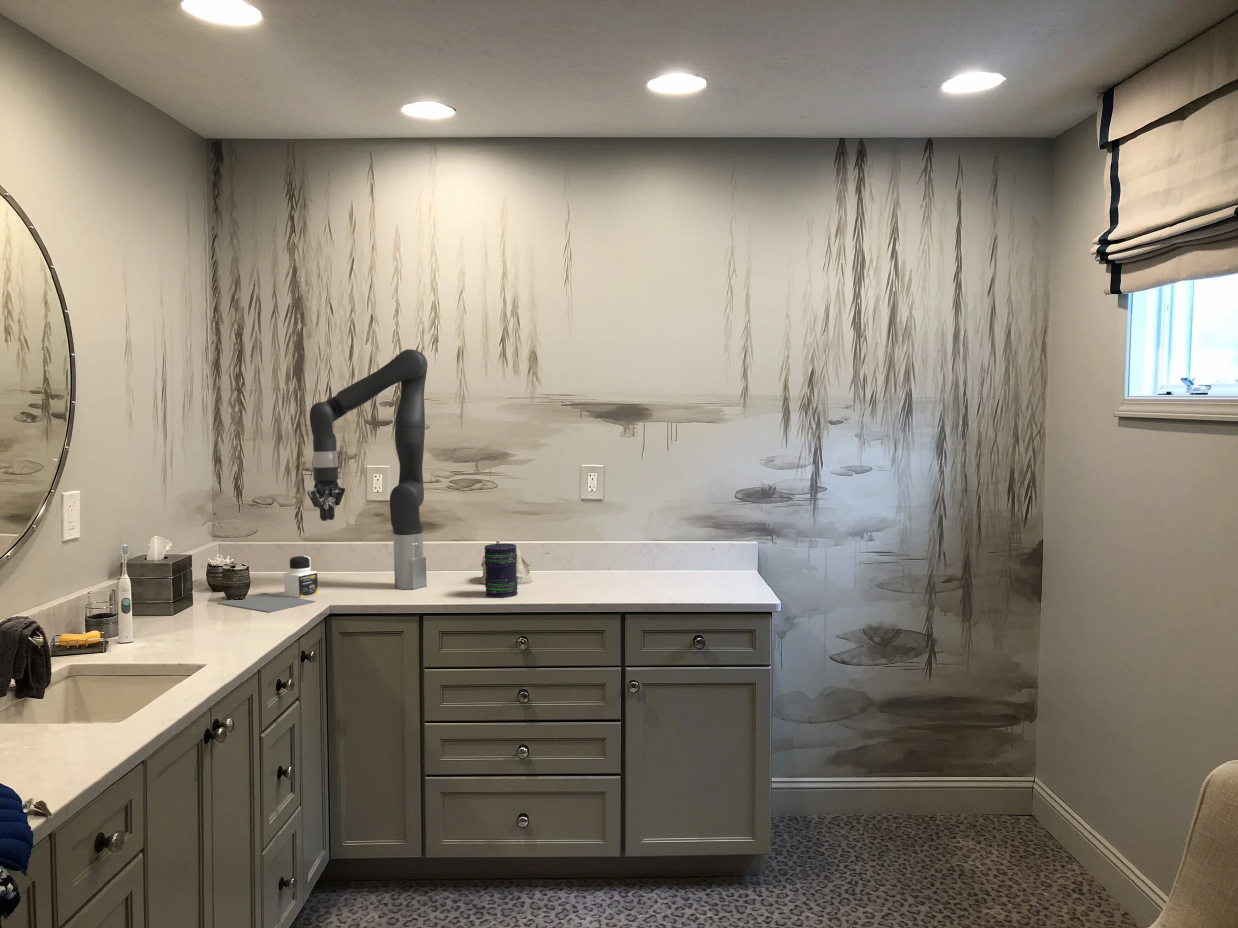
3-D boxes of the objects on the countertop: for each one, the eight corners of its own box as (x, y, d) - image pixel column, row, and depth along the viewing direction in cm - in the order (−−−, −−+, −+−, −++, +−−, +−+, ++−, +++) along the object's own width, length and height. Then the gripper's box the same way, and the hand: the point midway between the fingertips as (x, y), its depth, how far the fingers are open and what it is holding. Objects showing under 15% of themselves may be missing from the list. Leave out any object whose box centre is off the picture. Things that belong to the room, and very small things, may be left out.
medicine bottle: (299, 598, 286) (298, 559, 285) (284, 596, 290) (282, 557, 289) (318, 594, 292) (317, 555, 291) (303, 591, 296) (301, 554, 295)
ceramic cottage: (534, 583, 303) (531, 536, 303) (483, 588, 299) (480, 541, 299) (527, 577, 318) (524, 533, 318) (478, 582, 314) (475, 537, 314)
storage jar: (517, 597, 283) (516, 548, 282) (484, 598, 282) (482, 548, 281) (518, 590, 293) (517, 543, 291) (486, 591, 292) (485, 543, 291)
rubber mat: (315, 601, 281) (315, 600, 281) (269, 612, 267) (268, 611, 267) (264, 593, 294) (264, 592, 294) (217, 603, 280) (217, 602, 280)
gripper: (315, 467, 290) (317, 523, 291) (350, 464, 301) (352, 518, 302) (299, 466, 294) (301, 522, 295) (335, 463, 305) (336, 517, 306)
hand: (327, 519), depth 299 cm, fingers closed
